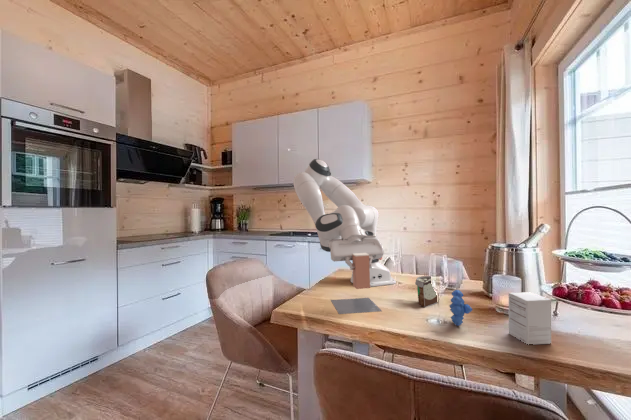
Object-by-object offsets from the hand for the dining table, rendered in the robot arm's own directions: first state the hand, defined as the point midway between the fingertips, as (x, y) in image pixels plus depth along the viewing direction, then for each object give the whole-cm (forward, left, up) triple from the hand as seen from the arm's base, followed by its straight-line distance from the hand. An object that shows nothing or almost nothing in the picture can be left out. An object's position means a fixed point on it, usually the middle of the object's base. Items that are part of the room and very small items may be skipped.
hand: (361, 268), depth 103 cm
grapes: (-28, +15, -17) cm, 36 cm away
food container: (-28, -7, -17) cm, 33 cm away
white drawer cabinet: (-42, +26, -17) cm, 53 cm away
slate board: (+1, -6, -16) cm, 18 cm away
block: (0, -1, -7) cm, 7 cm away
